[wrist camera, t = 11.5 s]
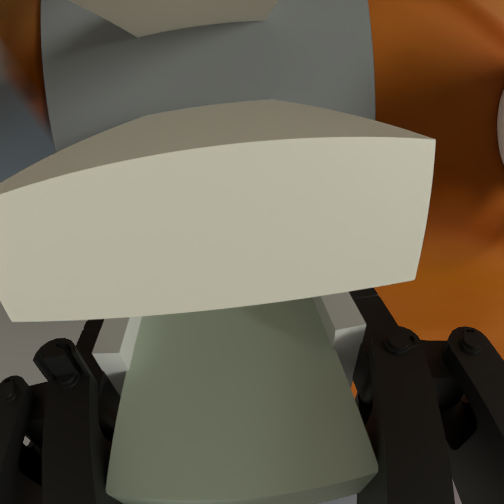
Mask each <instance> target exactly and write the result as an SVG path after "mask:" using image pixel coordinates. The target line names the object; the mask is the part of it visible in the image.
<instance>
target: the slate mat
mask: <svg viewBox="0 0 504 504" xmlns="http://www.w3.org/2000/svg"><path fill="white" fill-rule="evenodd" d="M41 46H42V62H43V74H44V83H45V92H46V100H47V107H48V113H49V120H50V125H51V131H52V136H53V142H54V147H55V151H56V152H59V151H61V150H63V149H65V148H67V147H69V146H71V145H73V144H76V143H78V142H80V141H82V140H85V139H87V138H89V137H91V136H94V135H96V134H99V133H101V132H103V131H106V130H108V129H111V128H113V127H116V126H119V125H121V124H124V123H126V122H129V121H132V120H135V119H137V118H140V117H143V116H146V115H151V114H156V113H161V112H167V111H173V110H179V109H185V108H191V107H198V106H206V105H214V104H222V103H231V102H242V101H254V100H268V99H274V100H280V101H287V102H293V103H299V104H304V105H310V106H315V107H320V108H325V109H330V110H334V111H339V112H343V113H347V114H352V115H356V116H360V117H364V118H368V119H371V120H375V80H374V61H373V46H372V35H371V25H370V15H369V7H368V0H279V1H278V3H277V4H276V6H275V7H274V8H273V10H272V11H271V13H270V14H269V16H268V17H267V19H266V20H265V21H245V22H231V23H220V24H211V25H203V26H195V27H189V28H182V29H176V30H171V31H165V32H160V33H155V34H151V35H146V36H142V37H138V38H137V37H136V36H134V35H132V34H131V33H129V32H127V31H126V30H124V29H122V28H120V27H119V26H117V25H115V24H113V23H111V22H110V21H108V20H106V19H104V18H102V17H100V16H98V15H97V14H95V13H93V12H91V11H89V10H87V9H85V8H83V7H81V6H79V5H77V4H75V3H73V2H71V1H69V0H41Z"/></svg>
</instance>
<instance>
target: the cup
mask: <svg viewBox="0 0 504 504" xmlns="http://www.w3.org/2000/svg"><path fill="white" fill-rule="evenodd" d="M497 138H498V146H499V151H500V155H501V159H502V162H503V164H504V89H503V92H502V95H501V98H500V102H499V108H498V116H497Z"/></svg>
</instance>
